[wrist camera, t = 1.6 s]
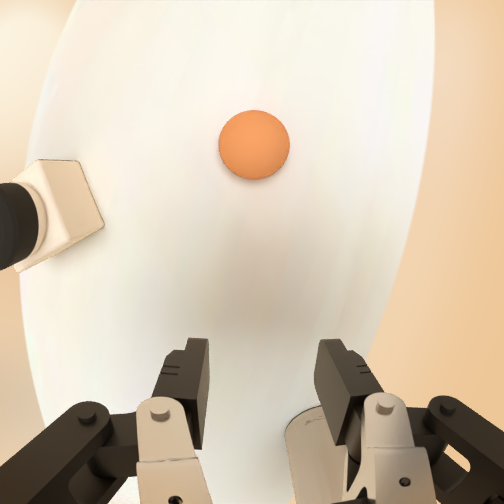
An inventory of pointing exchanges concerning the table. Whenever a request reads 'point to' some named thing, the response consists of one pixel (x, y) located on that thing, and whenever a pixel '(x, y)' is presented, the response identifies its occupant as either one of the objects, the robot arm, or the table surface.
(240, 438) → the table surface
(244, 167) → the ball
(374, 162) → the table surface
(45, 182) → the medicine bottle
